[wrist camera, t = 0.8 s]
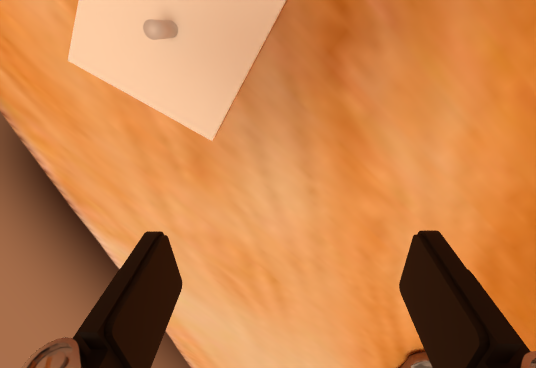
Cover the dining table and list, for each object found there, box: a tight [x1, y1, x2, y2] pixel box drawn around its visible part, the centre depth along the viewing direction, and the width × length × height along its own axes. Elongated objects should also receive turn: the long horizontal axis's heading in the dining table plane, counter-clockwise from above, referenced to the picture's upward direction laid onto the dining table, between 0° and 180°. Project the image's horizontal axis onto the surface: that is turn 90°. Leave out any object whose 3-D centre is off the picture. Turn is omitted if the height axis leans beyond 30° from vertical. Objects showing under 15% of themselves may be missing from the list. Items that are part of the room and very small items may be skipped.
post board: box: [68, 0, 287, 141], centre depth 27 cm, size 18×18×6 cm
